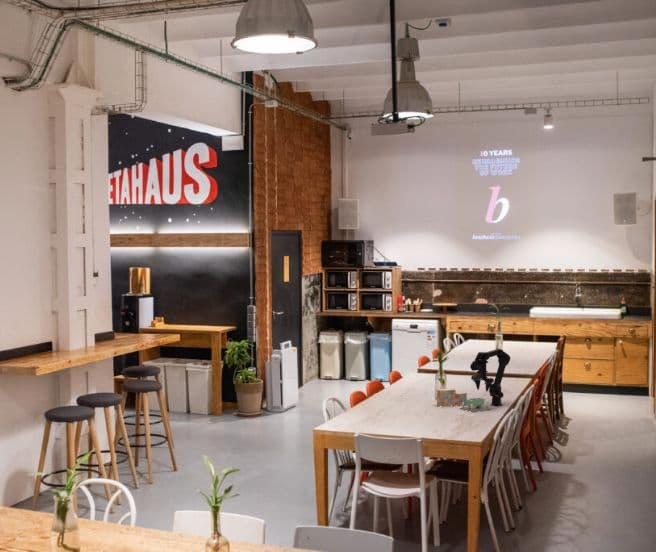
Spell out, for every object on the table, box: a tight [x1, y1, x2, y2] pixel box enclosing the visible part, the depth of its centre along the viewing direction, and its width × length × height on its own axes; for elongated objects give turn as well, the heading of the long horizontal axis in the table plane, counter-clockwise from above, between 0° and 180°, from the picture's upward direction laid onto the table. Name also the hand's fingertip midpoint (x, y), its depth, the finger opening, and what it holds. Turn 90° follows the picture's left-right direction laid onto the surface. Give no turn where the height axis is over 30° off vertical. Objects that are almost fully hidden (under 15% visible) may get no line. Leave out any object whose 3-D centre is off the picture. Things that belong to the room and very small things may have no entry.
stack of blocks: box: [436, 388, 468, 407], centre depth 597 cm, size 21×6×12 cm, turn 103°
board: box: [465, 397, 485, 407], centre depth 580 cm, size 12×6×4 cm, turn 121°
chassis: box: [459, 401, 492, 413], centre depth 580 cm, size 17×14×6 cm
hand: (482, 390), depth 588 cm, fingers open, 9 cm apart
